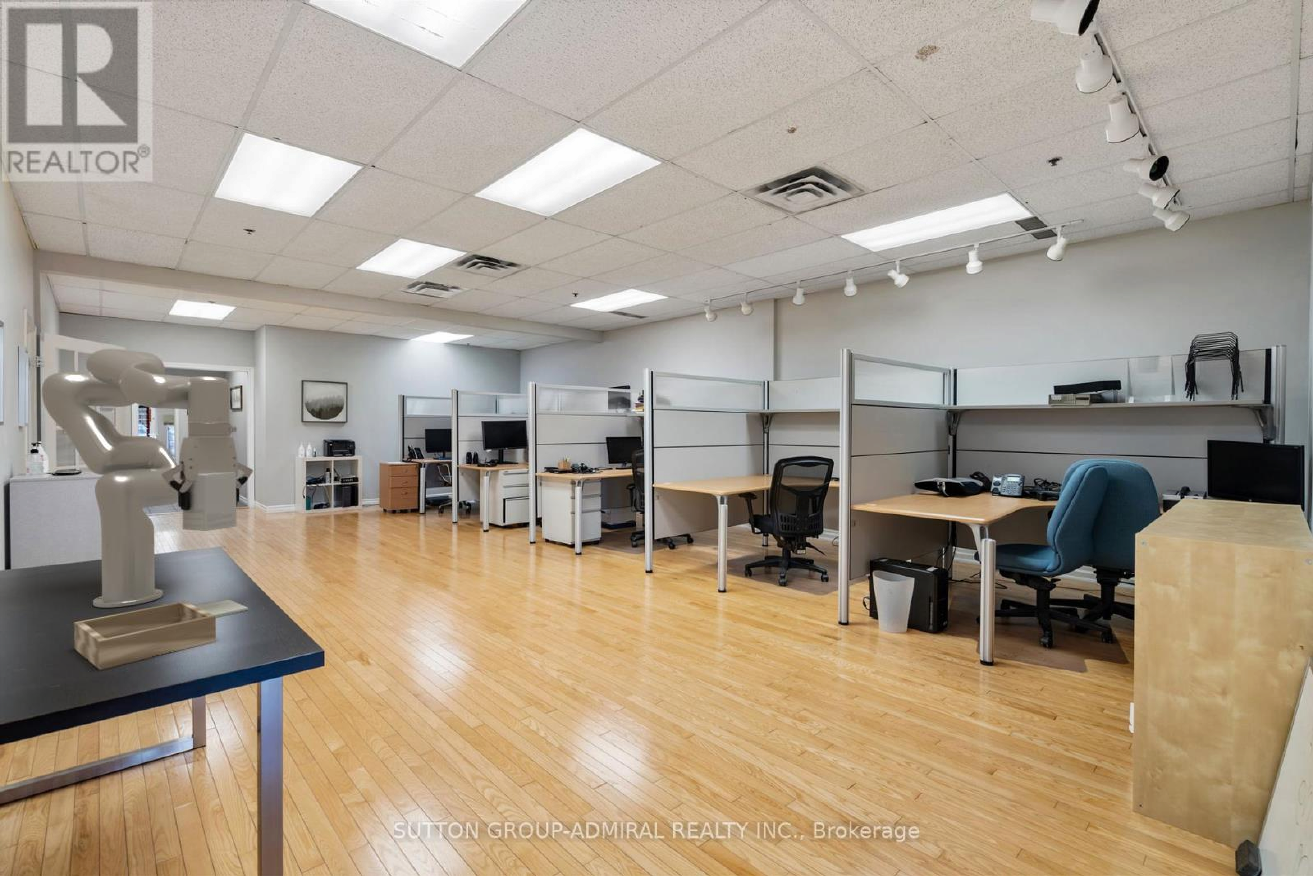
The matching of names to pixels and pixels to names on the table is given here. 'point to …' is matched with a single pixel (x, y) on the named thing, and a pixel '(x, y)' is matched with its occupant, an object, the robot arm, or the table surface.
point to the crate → (143, 634)
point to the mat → (222, 607)
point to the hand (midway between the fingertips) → (209, 507)
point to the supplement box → (211, 502)
